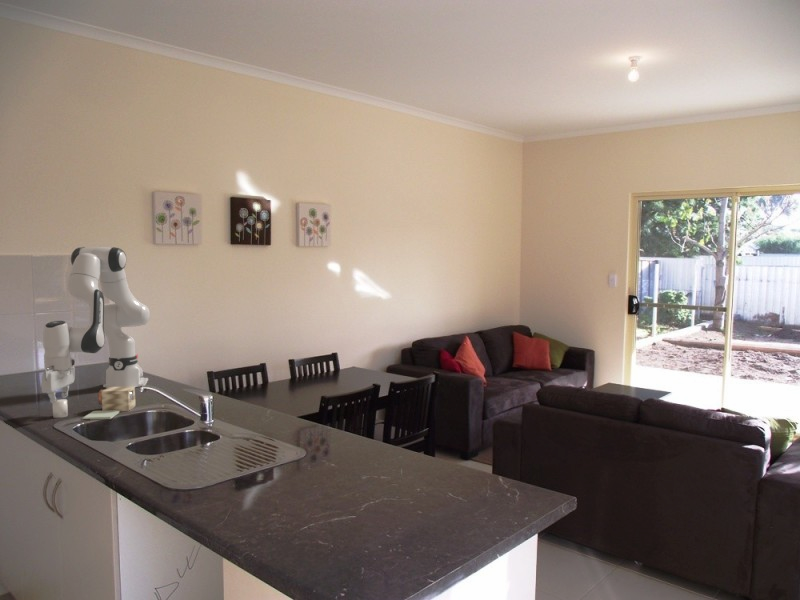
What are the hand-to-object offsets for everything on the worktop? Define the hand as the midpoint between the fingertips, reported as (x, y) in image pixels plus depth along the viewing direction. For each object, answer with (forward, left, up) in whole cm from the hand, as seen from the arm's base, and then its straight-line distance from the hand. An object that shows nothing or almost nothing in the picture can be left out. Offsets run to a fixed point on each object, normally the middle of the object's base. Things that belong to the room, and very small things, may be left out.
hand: (59, 399), depth 238 cm
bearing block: (-8, +19, -6) cm, 22 cm away
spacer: (0, 0, -7) cm, 7 cm away
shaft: (-8, +18, -4) cm, 20 cm away
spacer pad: (+2, +16, -6) cm, 17 cm away
